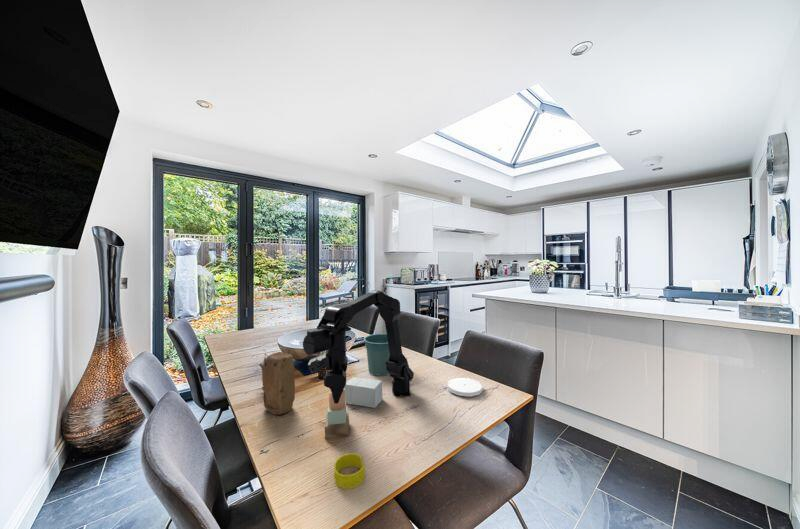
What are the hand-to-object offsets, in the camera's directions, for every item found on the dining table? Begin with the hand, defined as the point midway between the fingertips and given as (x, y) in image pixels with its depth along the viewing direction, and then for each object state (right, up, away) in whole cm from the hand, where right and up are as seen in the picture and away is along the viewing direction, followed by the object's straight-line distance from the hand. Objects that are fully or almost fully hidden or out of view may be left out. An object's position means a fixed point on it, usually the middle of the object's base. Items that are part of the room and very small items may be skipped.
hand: (337, 396), depth 91 cm
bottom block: (0, -11, 0) cm, 11 cm away
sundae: (-36, -11, +32) cm, 50 cm away
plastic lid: (+46, -11, +28) cm, 55 cm away
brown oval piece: (0, -3, 0) cm, 3 cm away
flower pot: (+11, -10, +49) cm, 51 cm away
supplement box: (0, -7, +21) cm, 22 cm away
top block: (0, -7, 0) cm, 7 cm away
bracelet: (+7, -12, -19) cm, 23 cm away
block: (-24, -11, +14) cm, 30 cm away
